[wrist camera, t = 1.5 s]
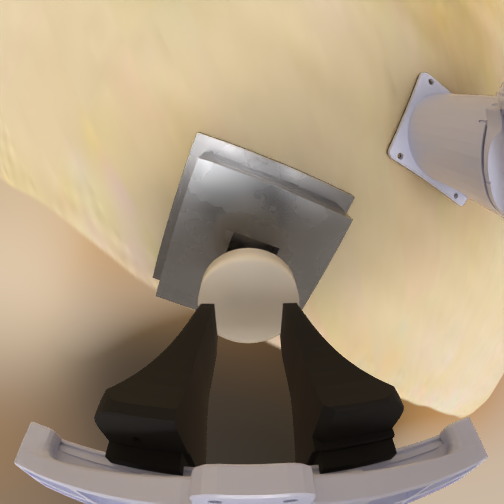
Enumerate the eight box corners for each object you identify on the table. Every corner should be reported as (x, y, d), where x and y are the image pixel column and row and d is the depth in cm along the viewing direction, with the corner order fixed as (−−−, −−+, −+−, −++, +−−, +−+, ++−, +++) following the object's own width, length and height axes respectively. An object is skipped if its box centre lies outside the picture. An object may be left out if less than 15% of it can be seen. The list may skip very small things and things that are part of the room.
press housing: (351, 195, 21) (372, 212, 17) (285, 316, 25) (291, 347, 22) (198, 132, 18) (187, 135, 15) (154, 273, 23) (140, 301, 20)
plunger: (300, 238, 18) (317, 281, 14) (268, 300, 20) (274, 351, 16) (224, 210, 17) (216, 246, 13) (199, 278, 19) (186, 327, 15)
